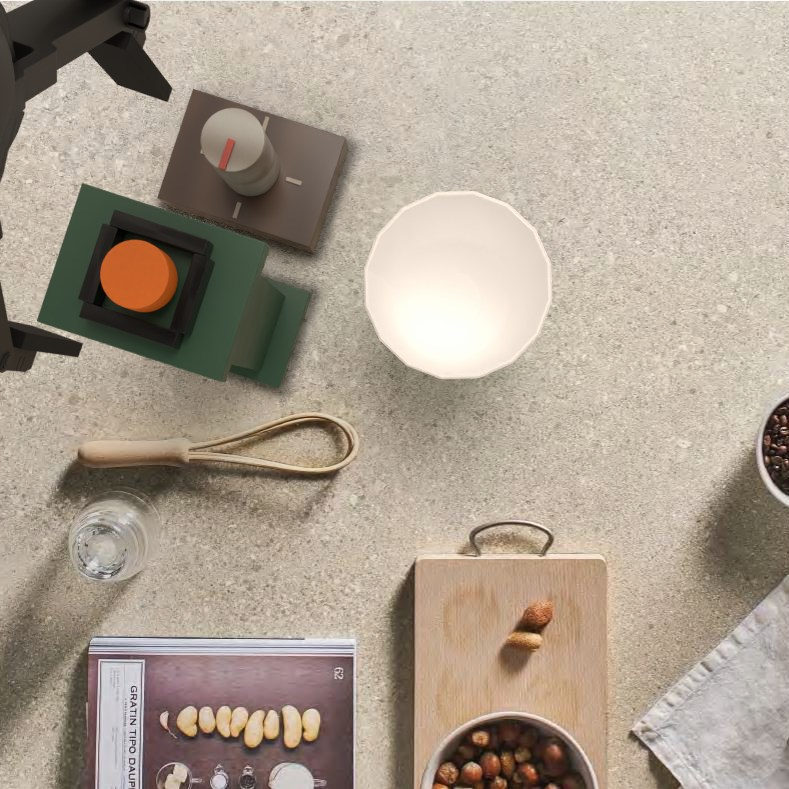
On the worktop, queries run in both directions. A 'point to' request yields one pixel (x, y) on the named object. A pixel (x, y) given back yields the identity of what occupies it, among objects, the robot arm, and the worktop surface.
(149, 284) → the button
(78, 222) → the control post
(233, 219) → the dial panel
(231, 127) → the dial
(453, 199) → the cup
